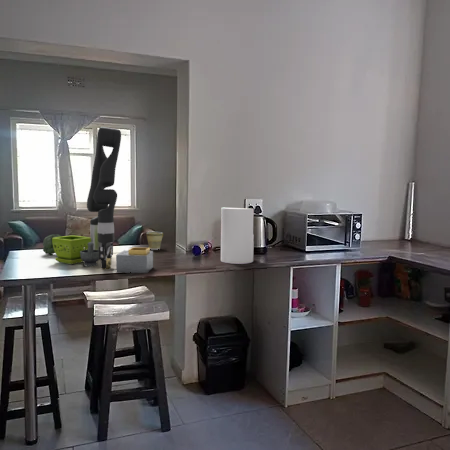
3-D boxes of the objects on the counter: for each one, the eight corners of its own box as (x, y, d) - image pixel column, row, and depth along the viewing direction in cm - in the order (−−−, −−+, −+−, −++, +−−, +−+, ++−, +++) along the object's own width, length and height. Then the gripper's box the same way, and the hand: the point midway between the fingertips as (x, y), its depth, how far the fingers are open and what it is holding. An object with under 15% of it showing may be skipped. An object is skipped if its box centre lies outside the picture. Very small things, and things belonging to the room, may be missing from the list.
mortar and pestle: (80, 263, 222) (80, 239, 221) (99, 262, 225) (99, 239, 224) (80, 268, 211) (80, 243, 210) (101, 267, 214) (101, 242, 213)
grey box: (116, 272, 203) (116, 250, 202) (124, 266, 216) (124, 246, 215) (146, 273, 202) (146, 251, 201) (152, 267, 215) (152, 247, 214)
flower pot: (71, 265, 216) (70, 240, 215) (51, 262, 223) (50, 237, 222) (92, 261, 228) (92, 236, 227) (73, 258, 235) (72, 234, 234)
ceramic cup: (155, 250, 264) (155, 234, 263) (142, 249, 269) (142, 232, 268) (169, 248, 275) (169, 232, 274) (157, 246, 280) (157, 230, 279)
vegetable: (73, 252, 243) (47, 241, 235) (62, 265, 249) (36, 256, 241) (75, 236, 252) (50, 226, 244) (64, 250, 257) (39, 240, 249)
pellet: (100, 269, 209) (100, 259, 208) (103, 267, 213) (103, 257, 212) (109, 269, 209) (109, 259, 208) (111, 268, 213) (111, 257, 212)
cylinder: (247, 264, 226) (248, 209, 223) (215, 262, 232) (216, 208, 229) (257, 259, 242) (258, 207, 239) (227, 256, 248) (227, 206, 245)
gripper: (102, 230, 216) (103, 263, 218) (92, 233, 202) (93, 269, 204) (118, 230, 216) (118, 264, 218) (109, 234, 202) (109, 269, 203)
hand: (106, 266), depth 211 cm, fingers open, 7 cm apart
